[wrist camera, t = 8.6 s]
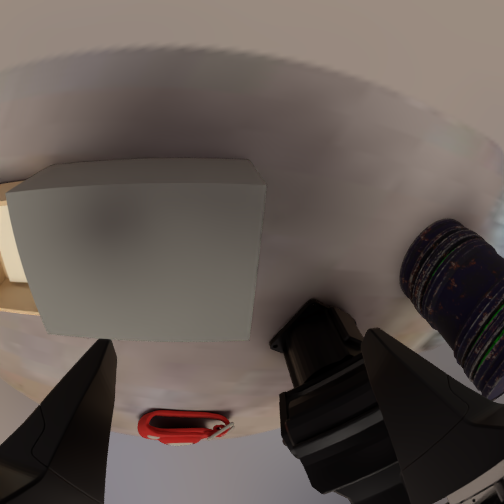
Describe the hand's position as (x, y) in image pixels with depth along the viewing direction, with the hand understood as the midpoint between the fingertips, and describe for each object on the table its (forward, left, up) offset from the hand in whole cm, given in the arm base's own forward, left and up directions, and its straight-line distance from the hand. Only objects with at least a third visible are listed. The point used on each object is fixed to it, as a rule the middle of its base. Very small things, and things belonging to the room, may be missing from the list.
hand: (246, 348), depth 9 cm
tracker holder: (-28, -11, -13) cm, 32 cm away
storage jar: (+7, -21, -13) cm, 26 cm away
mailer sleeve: (-4, +4, -12) cm, 14 cm away
